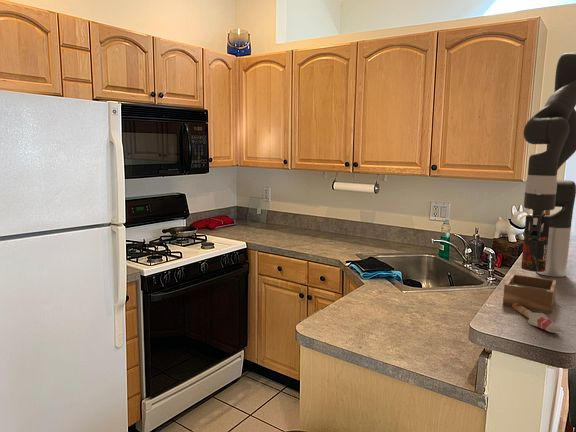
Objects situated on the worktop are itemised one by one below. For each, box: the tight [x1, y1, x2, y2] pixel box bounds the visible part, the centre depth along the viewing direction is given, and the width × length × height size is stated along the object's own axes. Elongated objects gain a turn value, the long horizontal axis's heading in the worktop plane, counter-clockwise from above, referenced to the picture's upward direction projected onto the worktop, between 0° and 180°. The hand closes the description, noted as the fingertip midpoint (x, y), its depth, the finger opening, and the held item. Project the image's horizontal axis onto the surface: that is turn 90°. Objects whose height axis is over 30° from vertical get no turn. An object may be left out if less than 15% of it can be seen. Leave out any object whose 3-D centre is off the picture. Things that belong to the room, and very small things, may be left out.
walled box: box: [502, 273, 557, 315], centre depth 126 cm, size 14×12×6 cm
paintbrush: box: [511, 303, 564, 334], centre depth 112 cm, size 4×3×20 cm
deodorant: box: [520, 214, 550, 273], centre depth 124 cm, size 6×6×15 cm
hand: (534, 251), depth 124 cm, fingers closed on deodorant, 6 cm apart
